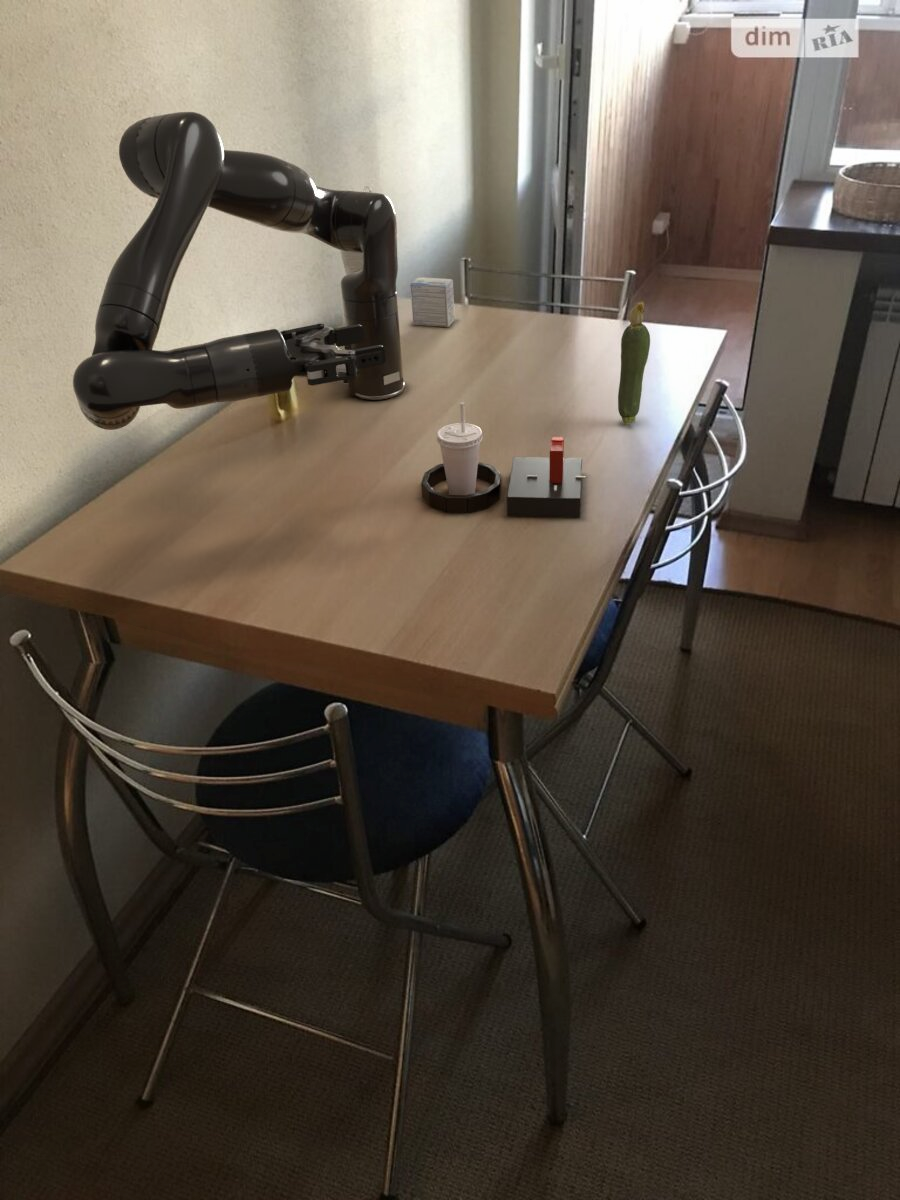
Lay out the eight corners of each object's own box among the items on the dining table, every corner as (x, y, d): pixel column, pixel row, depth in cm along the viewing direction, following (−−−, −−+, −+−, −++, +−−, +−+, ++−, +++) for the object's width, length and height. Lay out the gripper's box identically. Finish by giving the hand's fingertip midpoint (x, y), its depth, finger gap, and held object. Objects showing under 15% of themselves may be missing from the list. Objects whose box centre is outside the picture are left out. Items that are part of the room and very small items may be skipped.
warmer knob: (562, 483, 132) (563, 449, 129) (549, 483, 132) (549, 449, 129) (563, 470, 135) (564, 436, 132) (550, 470, 136) (551, 436, 133)
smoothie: (480, 505, 134) (477, 413, 126) (435, 503, 135) (430, 412, 127) (487, 484, 139) (485, 394, 131) (444, 481, 141) (439, 392, 133)
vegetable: (613, 417, 156) (620, 295, 145) (640, 415, 156) (649, 293, 145) (620, 428, 152) (627, 304, 141) (646, 426, 153) (656, 302, 141)
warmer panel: (507, 515, 132) (506, 495, 130) (513, 475, 141) (513, 455, 140) (584, 517, 130) (585, 497, 128) (585, 476, 140) (586, 457, 138)
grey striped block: (455, 320, 198) (453, 278, 193) (448, 328, 195) (446, 285, 190) (420, 318, 200) (417, 276, 195) (412, 325, 197) (409, 283, 192)
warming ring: (417, 512, 134) (416, 496, 132) (429, 474, 143) (428, 459, 141) (497, 514, 132) (496, 498, 131) (504, 476, 141) (503, 461, 140)
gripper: (255, 355, 108) (389, 330, 112) (229, 319, 119) (353, 297, 123) (265, 416, 112) (394, 390, 117) (239, 376, 123) (359, 353, 128)
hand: (373, 343), depth 120 cm, fingers open, 8 cm apart
